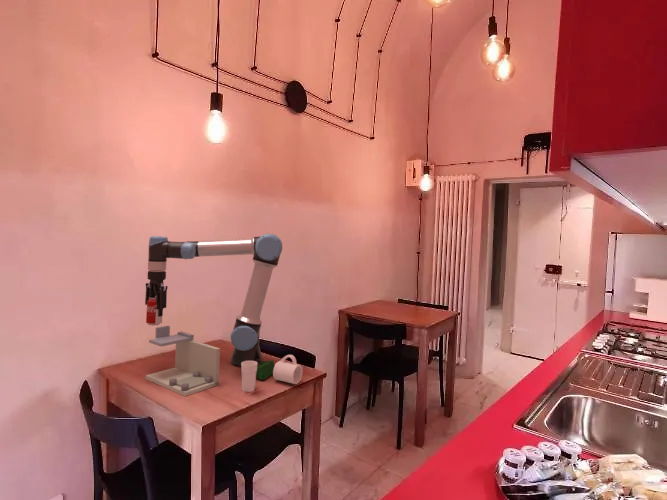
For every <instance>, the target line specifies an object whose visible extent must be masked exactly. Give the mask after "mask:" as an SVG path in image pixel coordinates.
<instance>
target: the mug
mask: <svg viewBox="0 0 667 500" xmlns="http://www.w3.org/2000/svg"><path fill="white" fill-rule="evenodd" d="M288 358H290V359H291V361H292V362H289V361H286V360H287V359H288ZM303 371H304V370H303V366H302V365H301V364H299V363H298V364H297V359H296V357H295V356H294V355H293V354H287V355H285V356H283V357H282V358H281V360H278V361H277V362H276V363H274V369H273V374H272V376H273V379H274V380H275V381H281V382H284V383H288V384H293V385H298V384H299V383H300V381H301V379H302V377H303Z"/></svg>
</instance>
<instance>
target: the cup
mask: <svg viewBox="0 0 667 500" xmlns="http://www.w3.org/2000/svg"><path fill="white" fill-rule="evenodd" d="M258 365H259V364H258V363H257V362H256V361H244V362H242V363H241V366H240V369H241V370H240V371H241V391H243V392H244V393H245V392H246V393H250V392H251V393H252V392H254V391H255V390H256V381H257V380H256V378H257V376H256V371H257V366H258Z"/></svg>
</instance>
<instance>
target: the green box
mask: <svg viewBox="0 0 667 500" xmlns="http://www.w3.org/2000/svg"><path fill="white" fill-rule="evenodd" d="M274 366H275V360H273V359H272V360H270V359H269V360H262V361H261V362H259V364H257V371H256V377H257V379H258V380H259V381H261V380H263V381H264V380H266V379H267V378H269V377H270V376H271V375H272V376H273V369H274Z"/></svg>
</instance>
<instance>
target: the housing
mask: <svg viewBox="0 0 667 500" xmlns="http://www.w3.org/2000/svg"><path fill="white" fill-rule="evenodd" d="M220 355H221V348H220V347H216V346H213V345H211V344H207V343H203V342H200V341H197V340H190V341H185V342H181V343H176V344H175V356H174V357H175V359H174V362H175V363H174V367H172V368H168V369H164V370H161V371H157V372H154V373H150V374H145V377H144V378H145V380H147V381H150V382H151V383H154V384H156V385H159V386H161V387H163V388H165V389H168V390H170V391H172V392H175V393H177V394H179V395H182V396H183V397H188V396H191V395H193V394H196V393H199V392H201V391H204V390H205V391H206V390H207V389H211V388H214V387H216V386H219V383H220V360H221V359H220V357H221V356H220Z"/></svg>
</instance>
